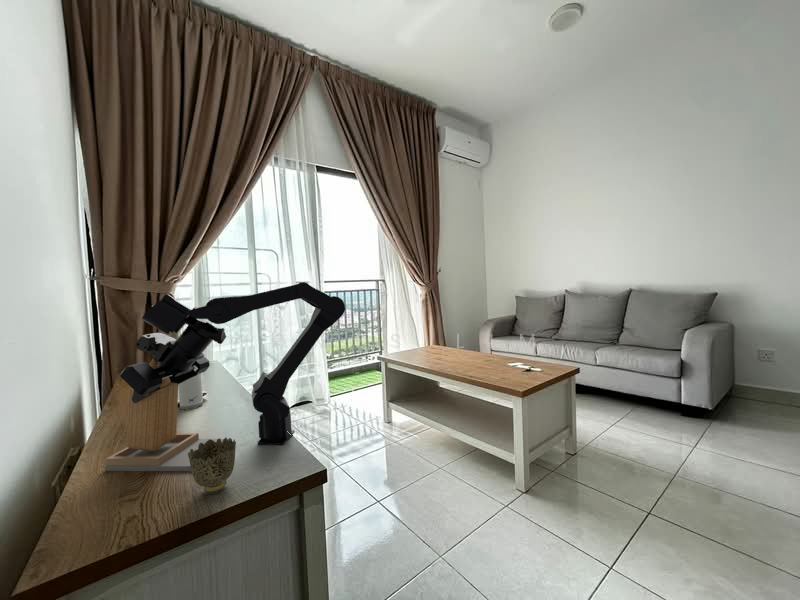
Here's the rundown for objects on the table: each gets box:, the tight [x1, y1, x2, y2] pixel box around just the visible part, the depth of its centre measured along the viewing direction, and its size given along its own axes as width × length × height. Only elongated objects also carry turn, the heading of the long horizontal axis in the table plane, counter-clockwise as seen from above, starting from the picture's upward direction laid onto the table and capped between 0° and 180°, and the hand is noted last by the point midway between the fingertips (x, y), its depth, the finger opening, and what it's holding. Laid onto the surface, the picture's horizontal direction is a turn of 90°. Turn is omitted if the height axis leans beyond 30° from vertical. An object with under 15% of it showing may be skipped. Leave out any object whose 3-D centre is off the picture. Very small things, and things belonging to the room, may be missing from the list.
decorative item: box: [126, 358, 179, 451], centre depth 72 cm, size 7×7×20 cm
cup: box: [188, 437, 237, 495], centre depth 59 cm, size 8×7×8 cm
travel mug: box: [178, 366, 204, 410], centre depth 104 cm, size 6×7×20 cm
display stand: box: [104, 432, 233, 472], centre depth 72 cm, size 20×12×2 cm, turn 86°
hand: (148, 395), depth 73 cm, fingers closed on decorative item, 7 cm apart
